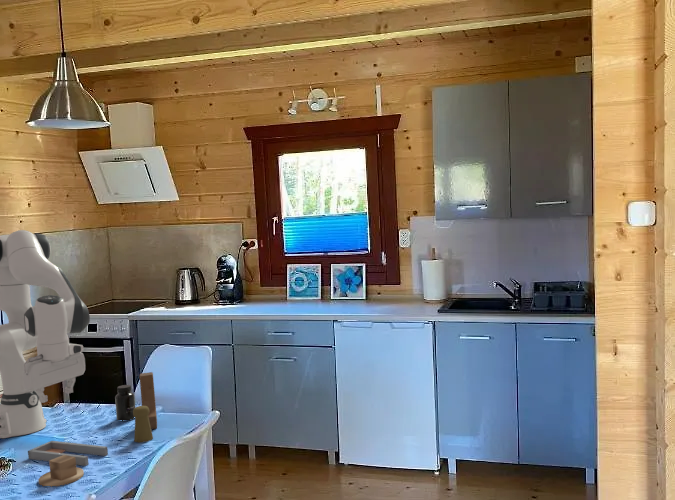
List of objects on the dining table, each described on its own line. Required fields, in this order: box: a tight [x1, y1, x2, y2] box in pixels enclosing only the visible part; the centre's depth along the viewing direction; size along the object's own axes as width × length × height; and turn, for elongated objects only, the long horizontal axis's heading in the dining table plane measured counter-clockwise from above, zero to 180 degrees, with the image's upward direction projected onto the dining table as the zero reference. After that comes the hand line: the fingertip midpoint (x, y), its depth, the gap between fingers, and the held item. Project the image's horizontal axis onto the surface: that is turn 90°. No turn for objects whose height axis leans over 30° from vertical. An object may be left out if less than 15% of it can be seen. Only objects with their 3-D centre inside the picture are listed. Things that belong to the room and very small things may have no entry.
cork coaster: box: [38, 466, 85, 488], centre depth 195 cm, size 12×12×1 cm
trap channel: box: [27, 440, 109, 467], centre depth 212 cm, size 24×9×2 cm, turn 66°
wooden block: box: [138, 371, 158, 430], centre depth 237 cm, size 9×4×18 cm, turn 15°
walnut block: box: [48, 455, 77, 481], centre depth 194 cm, size 5×5×5 cm
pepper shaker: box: [133, 405, 154, 444], centre depth 224 cm, size 6×6×11 cm
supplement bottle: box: [114, 384, 136, 422], centre depth 248 cm, size 7×7×12 cm
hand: (56, 397), depth 201 cm, fingers open, 8 cm apart
